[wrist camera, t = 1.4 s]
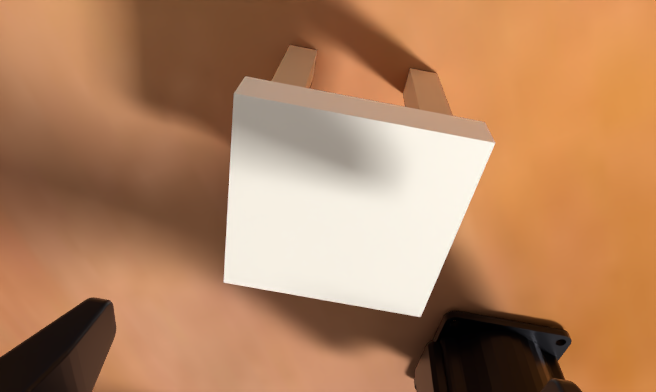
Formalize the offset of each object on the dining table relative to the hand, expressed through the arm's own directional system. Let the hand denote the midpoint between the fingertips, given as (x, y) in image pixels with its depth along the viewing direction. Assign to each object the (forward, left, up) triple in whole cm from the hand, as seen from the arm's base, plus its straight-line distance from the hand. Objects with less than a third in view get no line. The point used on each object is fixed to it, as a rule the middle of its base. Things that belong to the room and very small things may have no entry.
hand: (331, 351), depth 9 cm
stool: (0, 0, -10) cm, 10 cm away
